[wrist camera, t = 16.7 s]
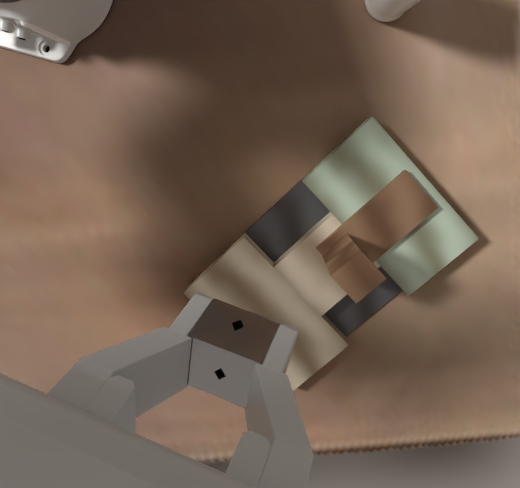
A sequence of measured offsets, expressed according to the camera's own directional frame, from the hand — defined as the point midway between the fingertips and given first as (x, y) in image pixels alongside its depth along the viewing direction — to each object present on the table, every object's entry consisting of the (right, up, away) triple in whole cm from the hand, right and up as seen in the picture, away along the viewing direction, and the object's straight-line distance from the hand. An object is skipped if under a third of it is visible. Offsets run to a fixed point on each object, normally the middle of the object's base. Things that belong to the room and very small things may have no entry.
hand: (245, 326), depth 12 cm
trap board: (+9, 0, +45) cm, 46 cm away
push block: (+15, +4, +40) cm, 43 cm away
